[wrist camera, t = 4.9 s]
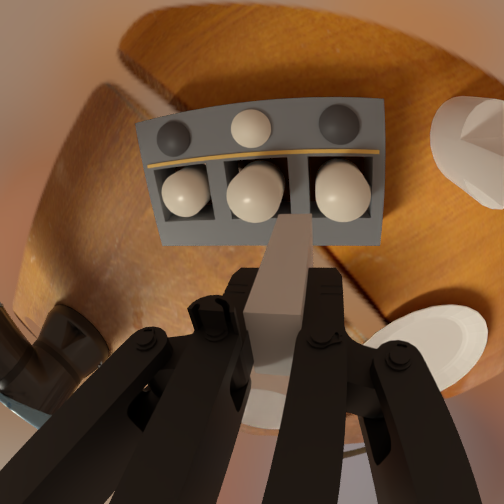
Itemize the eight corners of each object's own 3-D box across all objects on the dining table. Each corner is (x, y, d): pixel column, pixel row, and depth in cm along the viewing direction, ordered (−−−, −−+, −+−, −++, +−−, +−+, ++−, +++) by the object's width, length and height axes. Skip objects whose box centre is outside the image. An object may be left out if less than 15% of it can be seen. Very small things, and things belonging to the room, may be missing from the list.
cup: (256, 290, 32) (229, 375, 22) (327, 317, 32) (325, 404, 22) (235, 337, 37) (209, 413, 27) (297, 359, 37) (285, 436, 27)
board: (179, 228, 30) (161, 246, 27) (157, 118, 24) (133, 123, 21) (372, 225, 26) (380, 246, 22) (372, 99, 20) (384, 98, 16)
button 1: (183, 203, 28) (167, 218, 25) (176, 165, 26) (157, 175, 23) (220, 200, 27) (207, 216, 24) (214, 160, 25) (199, 170, 22)
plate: (421, 398, 38) (423, 409, 36) (323, 375, 38) (322, 387, 37) (504, 318, 27) (510, 328, 25) (408, 269, 27) (414, 281, 25)
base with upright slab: (494, 96, 16) (577, 112, 6) (502, 182, 20) (572, 235, 10) (421, 97, 19) (496, 103, 8) (434, 191, 22) (497, 254, 12)
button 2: (241, 205, 25) (230, 223, 22) (236, 162, 23) (222, 173, 20) (287, 204, 24) (282, 222, 21) (283, 159, 22) (278, 169, 19)
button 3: (316, 204, 24) (316, 222, 20) (314, 158, 22) (314, 168, 19) (362, 204, 23) (369, 222, 20) (362, 158, 21) (371, 169, 18)
